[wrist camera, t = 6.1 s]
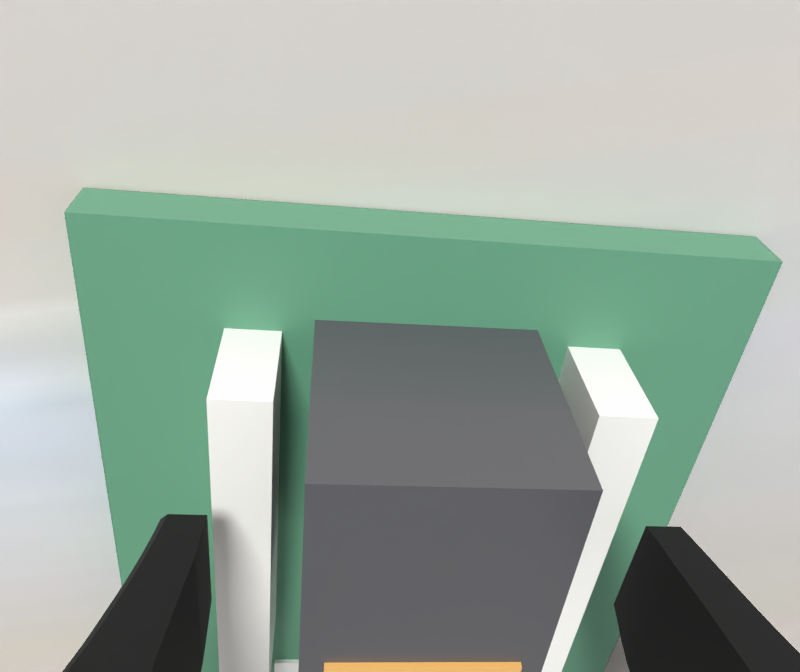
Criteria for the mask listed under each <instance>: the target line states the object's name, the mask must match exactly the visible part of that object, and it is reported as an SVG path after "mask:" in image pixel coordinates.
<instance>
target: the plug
mask: <svg viewBox="0 0 800 672" xmlns="http://www.w3.org/2000/svg"><path fill="white" fill-rule="evenodd" d="M602 493H603V489H602V486H601V484H600V482H599V479H598V477H597V474H596V472H595V469H594V467H593V464H592V462H591V460H590V457H589V455H588V452H587V450H586V447H585V445H584V442H583V440H582V437H581V435H580V433H579V430H578V428H577V425H576V423H575V420H574V418H573V415H572V413H571V411H570V408H569V406H568V403H567V401H566V398H565V396H564V393H563V391H562V389H561V386H560V384H559V381H558V379H557V376H556V374H555V371H554V369H553V366H552V364H551V362H550V359H549V357H548V354H547V352H546V349H545V347H544V344H543V342H542V340H541V337H540V335H539V332H538V330H525V329H504V328H482V327H461V326H439V325H418V324H397V323H375V322H354V321H332V320H315V326H314V342H313V359H312V375H311V392H310V408H309V424H308V441H307V457H306V474H305V495H304V524H303V553H302V582H301V611H300V640H299V669H298V672H541V671H542V668H543V665H544V663H545V660H546V657H547V654H548V651H549V648H550V645H551V642H552V639H553V636H554V633H555V630H556V627H557V624H558V621H559V619H560V616H561V613H562V610H563V607H564V604H565V601H566V598H567V595H568V592H569V589H570V586H571V583H572V580H573V578H574V575H575V572H576V569H577V566H578V563H579V560H580V557H581V554H582V551H583V548H584V545H585V542H586V539H587V537H588V534H589V531H590V528H591V525H592V522H593V519H594V516H595V513H596V510H597V507H598V504H599V501H600V498H601V495H602Z"/></svg>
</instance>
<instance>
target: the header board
mask: <svg viewBox="0 0 800 672" xmlns="http://www.w3.org/2000/svg"><path fill="white" fill-rule="evenodd" d="M64 213H65V220H66V226H67V233H68V239H69V246H70V252H71V259H72V265H73V272H74V278H75V285H76V291H77V298H78V304H79V311H80V317H81V324H82V330H83V337H84V343H85V350H86V356H87V363H88V369H89V376H90V382H91V389H92V395H93V402H94V408H95V415H96V421H97V428H98V434H99V441H100V447H101V454H102V460H103V467H104V473H105V480H106V486H107V493H108V499H109V506H110V512H111V519H112V525H113V532H114V538H115V545H116V551H117V558H118V564H119V571H120V577H121V584H122V586H123V584H124V583H125V581H126V579H127V578H128V576H129V575H130V573H131V571H132V570H133V568H134V566H135V565H136V563H137V561H138V560H139V558H140V556H141V555H142V553H143V551H144V549H145V548H146V546H147V544H148V542H149V540H150V538H151V537H152V535H153V533H154V531H155V529H156V527H157V525H158V523H159V521H160V519H161V518H163V517H164V516H165V515H167V514H187V515H207V519H208V538H209V557H210V576H211V595H212V600H211V608H210V615H209V623H208V630H207V638H206V645H205V652H204V659H203V665H202V669H201V672H298V669H299V640H300V611H301V582H302V553H303V524H304V495H305V474H306V457H307V441H308V424H309V408H310V392H311V375H312V359H313V342H314V326H315V320H332V321H354V322H375V323H397V324H418V325H439V326H461V327H482V328H504V329H525V330H538V332H539V335H540V337H541V340H542V342H543V344H544V347H545V349H546V352H547V354H548V357H549V359H550V362H551V364H552V366H553V369H554V371H555V374H556V376H557V379H558V381H559V384H560V386H561V389H562V391H563V393H564V396H565V398H566V401H567V403H568V406H569V408H570V411H571V413H572V415H573V418H574V420H575V423H576V425H577V428H578V430H579V433H580V435H581V437H582V440H583V442H584V445H585V447H586V450H587V452H588V455H589V457H590V460H591V462H592V464H593V467H594V469H595V472H596V474H597V477H598V479H599V482H600V484H601V486H602V489H603V493H602V495H601V498H600V501H599V504H598V507H597V510H596V513H595V516H594V519H593V522H592V525H591V528H590V531H589V534H588V537H587V539H586V542H585V545H584V548H583V551H582V554H581V557H580V560H579V563H578V566H577V569H576V572H575V575H574V578H573V580H572V583H571V586H570V589H569V592H568V595H567V598H566V601H565V604H564V607H563V610H562V613H561V616H560V619H559V621H558V624H557V627H556V630H555V633H554V636H553V639H552V642H551V645H550V648H549V651H548V654H547V657H546V660H545V663H544V665H543V668H542V671H541V672H604V670H605V667H606V665H607V663H608V660H609V658H610V656H611V653H612V651H613V649H614V647H615V644H616V642H617V640H618V637H619V635H620V631H619V627H618V622H617V617H616V613H615V608H614V602H615V600H616V597H617V595H618V592H619V590H620V588H621V585H622V583H623V580H624V578H625V575H626V573H627V571H628V568H629V566H630V563H631V561H632V559H633V556H634V554H635V551H636V549H637V546H638V544H639V542H640V539H641V537H642V534H643V532H644V530H645V527H646V526H663V527H667V525H668V523H669V521H670V518H671V516H672V514H673V512H674V509H675V507H676V505H677V502H678V500H679V498H680V496H681V493H682V491H683V489H684V486H685V484H686V482H687V480H688V477H689V475H690V473H691V470H692V468H693V466H694V463H695V461H696V459H697V457H698V454H699V452H700V450H701V447H702V445H703V443H704V441H705V438H706V436H707V434H708V431H709V429H710V427H711V425H712V422H713V420H714V418H715V415H716V413H717V411H718V409H719V406H720V404H721V402H722V399H723V397H724V395H725V393H726V390H727V388H728V386H729V383H730V381H731V379H732V377H733V374H734V372H735V370H736V367H737V365H738V363H739V360H740V358H741V356H742V354H743V351H744V349H745V347H746V344H747V342H748V340H749V338H750V335H751V333H752V331H753V328H754V326H755V324H756V322H757V319H758V317H759V315H760V312H761V310H762V308H763V306H764V303H765V301H766V299H767V296H768V294H769V292H770V290H771V287H772V285H773V283H774V280H775V278H776V276H777V274H778V271H779V269H780V267H781V264H782V261H781V260H780V259H779V258H778V257H777V256H776V255H775V254H774V253H773V252H772V251H771V250H770V249H768V248H767V247H766V246H765V245H764V244H763V243H762V242H761V241H760V240H759V239H758V238H757V237H753V236H739V235H725V234H712V233H698V232H684V231H671V230H657V229H643V228H629V227H616V226H602V225H588V224H574V223H561V222H547V221H533V220H519V219H506V218H492V217H478V216H465V215H451V214H437V213H423V212H410V211H396V210H382V209H368V208H355V207H341V206H327V205H314V204H300V203H286V202H272V201H259V200H245V199H231V198H217V197H204V196H190V195H176V194H162V193H149V192H135V191H121V190H108V189H94V188H83V189H82V190H81V191H80V193H79V194H78V195H77V196H76V198H75V199H74V200H73V202H72V203H71V204H70V205H69V207H68V208H67V209H66V211H65V212H64Z"/></svg>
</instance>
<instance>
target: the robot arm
mask: <svg viewBox="0 0 800 672" xmlns="http://www.w3.org/2000/svg"><path fill="white" fill-rule="evenodd" d="M211 600H212V595H211V576H210V557H209V538H208V519H207V515H187V514H167V515H165V516H164V517H163V518H161V519H160V521H159V523H158V525H157V527H156V529H155V531H154V533H153V535H152V537H151V538H150V540H149V542H148V544H147V546H146V548H145V549H144V551H143V553H142V555H141V556H140V558H139V560H138V561H137V563H136V565H135V566H134V568H133V570H132V571H131V573H130V575H129V576H128V578H127V579H126V581H125V583H124V584H123V586H122V587H121V589H120V591H119V592H118V594H117V595H116V597H115V598H114V600H113V601H112V603H111V604H110V606H109V607H108V609H107V610H106V611H105V613H104V614H103V616H102V617H101V619H100V620H99V622H98V623H97V625H96V626H95V628H94V629H93V631H92V632H91V634H90V635H89V637H88V638H87V639H86V641H85V642H84V644H83V645H82V646H81V648H80V649H79V650H78V652H77V653H76V654H75V656H74V657H73V658H72V660H71V661H70V662H69V664H68V665H67V666H66V668H65V669H64V670H63V672H201V669H202V665H203V659H204V652H205V645H206V638H207V630H208V623H209V615H210V608H211ZM614 608H615V613H616V617H617V622H618V627H619V631H620V636H621V640H622V644H623V648H624V652H625V656H626V660H627V664H628V667H629V670H630V672H800V653H799V652H798V651H797V650H796V649H795V648H794V647H793V646H792V645H791V644H790V643H789V642H788V641H787V640H786V639H785V638H784V637H783V636H782V635H781V634H780V633H779V632H778V631H777V630H776V629H775V628H774V627H773V626H772V625H771V623H770V622H769V621H768V620H767V619H766V618H765V617H764V616H763V615H762V614H761V613H760V612H759V611H758V610H757V609H756V608H755V607H754V606H753V604H752V603H751V602H750V601H749V600H748V599H747V598H746V597H745V596H744V595H743V594H742V593H741V592H740V591H739V589H738V588H737V587H736V586H735V585H734V584H733V583H732V582H731V581H730V580H729V579H728V578H727V576H726V575H725V574H724V573H723V572H722V571H721V570H720V569H719V568H718V567H717V566H716V564H715V563H714V562H713V561H712V560H711V559H710V558H709V557H708V556H707V555H706V553H705V552H704V551H703V550H702V549H701V548H700V547H699V546H698V545H697V544H696V543H695V542H694V541H693V539H692V538H691V537H690V536H689V535H688V534H687V533H686V532H685V531H684V530H683V529H682V528H681V527H663V526H646V527H645V530H644V532H643V534H642V537H641V539H640V542H639V544H638V546H637V549H636V551H635V554H634V556H633V559H632V561H631V563H630V566H629V568H628V571H627V573H626V575H625V578H624V580H623V583H622V585H621V588H620V590H619V592H618V595H617V597H616V600H615V602H614Z"/></svg>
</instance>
